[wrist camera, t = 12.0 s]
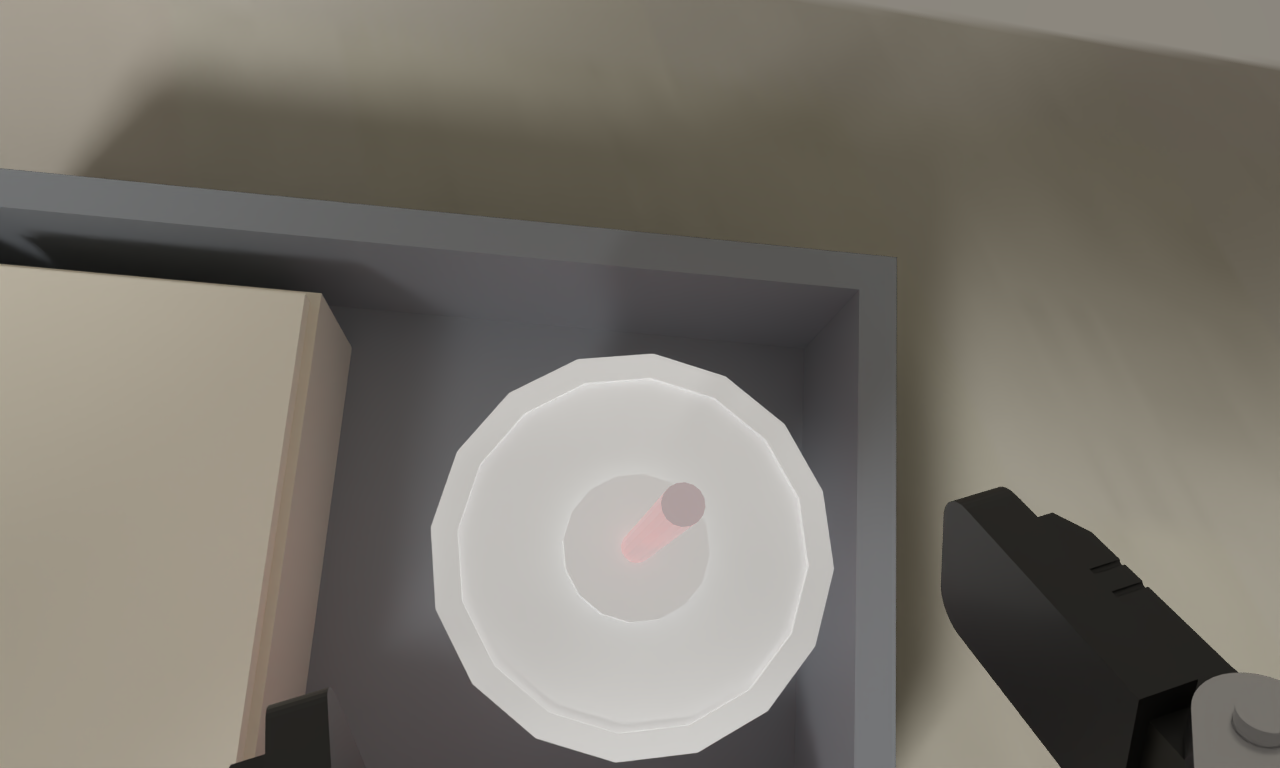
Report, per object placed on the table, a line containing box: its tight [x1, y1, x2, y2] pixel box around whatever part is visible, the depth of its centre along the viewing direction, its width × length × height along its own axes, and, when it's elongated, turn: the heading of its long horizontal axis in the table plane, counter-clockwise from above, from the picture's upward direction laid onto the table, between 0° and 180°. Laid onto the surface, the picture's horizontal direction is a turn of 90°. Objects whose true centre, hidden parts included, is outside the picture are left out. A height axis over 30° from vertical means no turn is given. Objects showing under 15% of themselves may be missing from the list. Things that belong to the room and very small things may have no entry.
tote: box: [0, 168, 897, 768], centre depth 23 cm, size 21×14×6 cm, turn 86°
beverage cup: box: [431, 354, 834, 763], centre depth 18 cm, size 6×6×14 cm
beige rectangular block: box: [0, 264, 352, 768], centre depth 22 cm, size 7×10×4 cm
